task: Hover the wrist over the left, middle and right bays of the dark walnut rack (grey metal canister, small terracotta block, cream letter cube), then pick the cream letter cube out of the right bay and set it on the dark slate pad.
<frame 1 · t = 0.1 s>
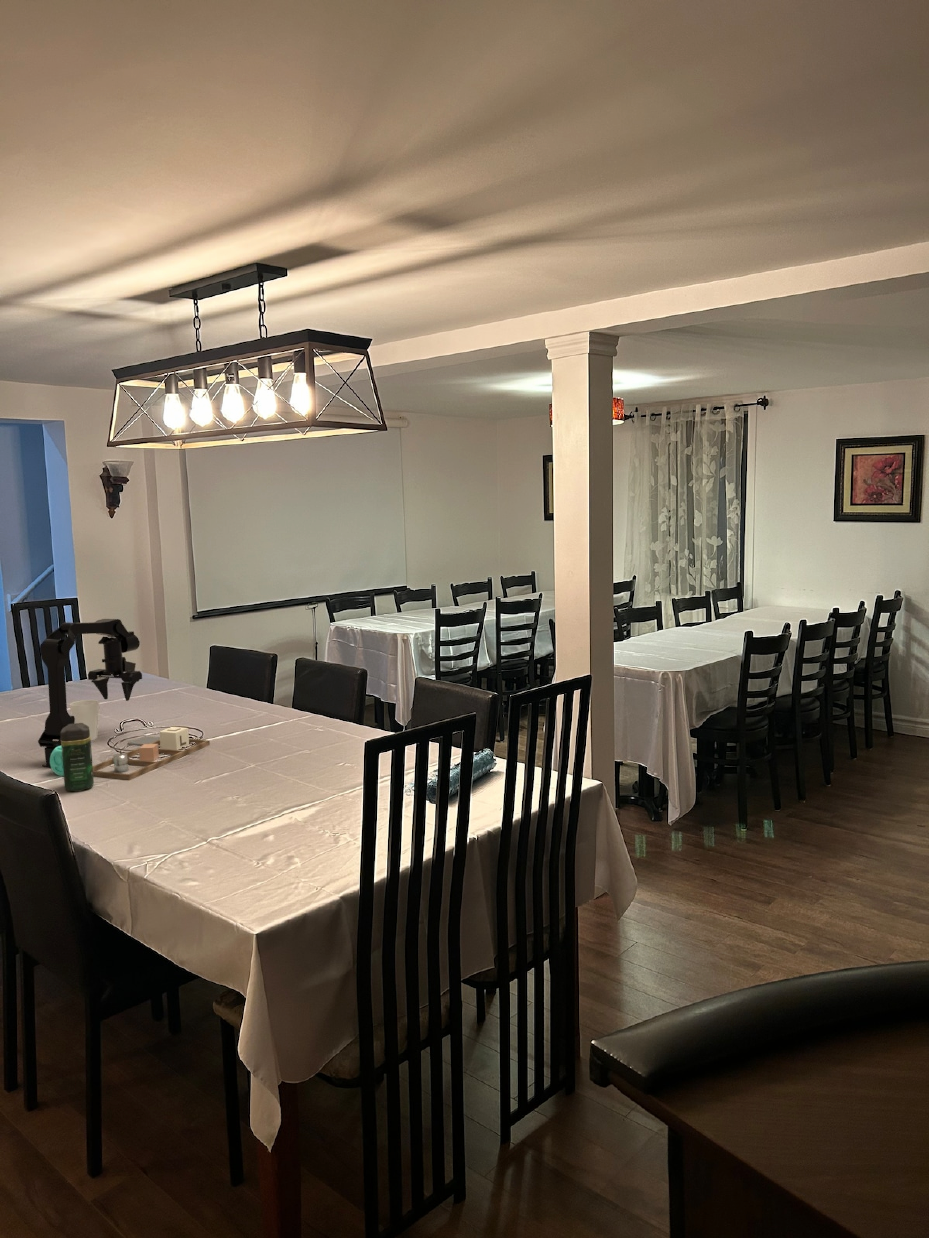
hand: (116, 699, 310), 15 cm above the table, fingers open, 9 cm apart
slate pad: (147, 741, 310), on the table
grey metal canister: (121, 771, 277), resting in walnut rack
walnut rack: (149, 759, 289), on the table
terracotta block: (149, 752, 289), in the walnut rack
foam cup: (87, 739, 316), on the table
coffee jar: (79, 787, 262), on the table
teal round container: (70, 772, 277), on the table
letter cube: (175, 748, 301), resting in walnut rack
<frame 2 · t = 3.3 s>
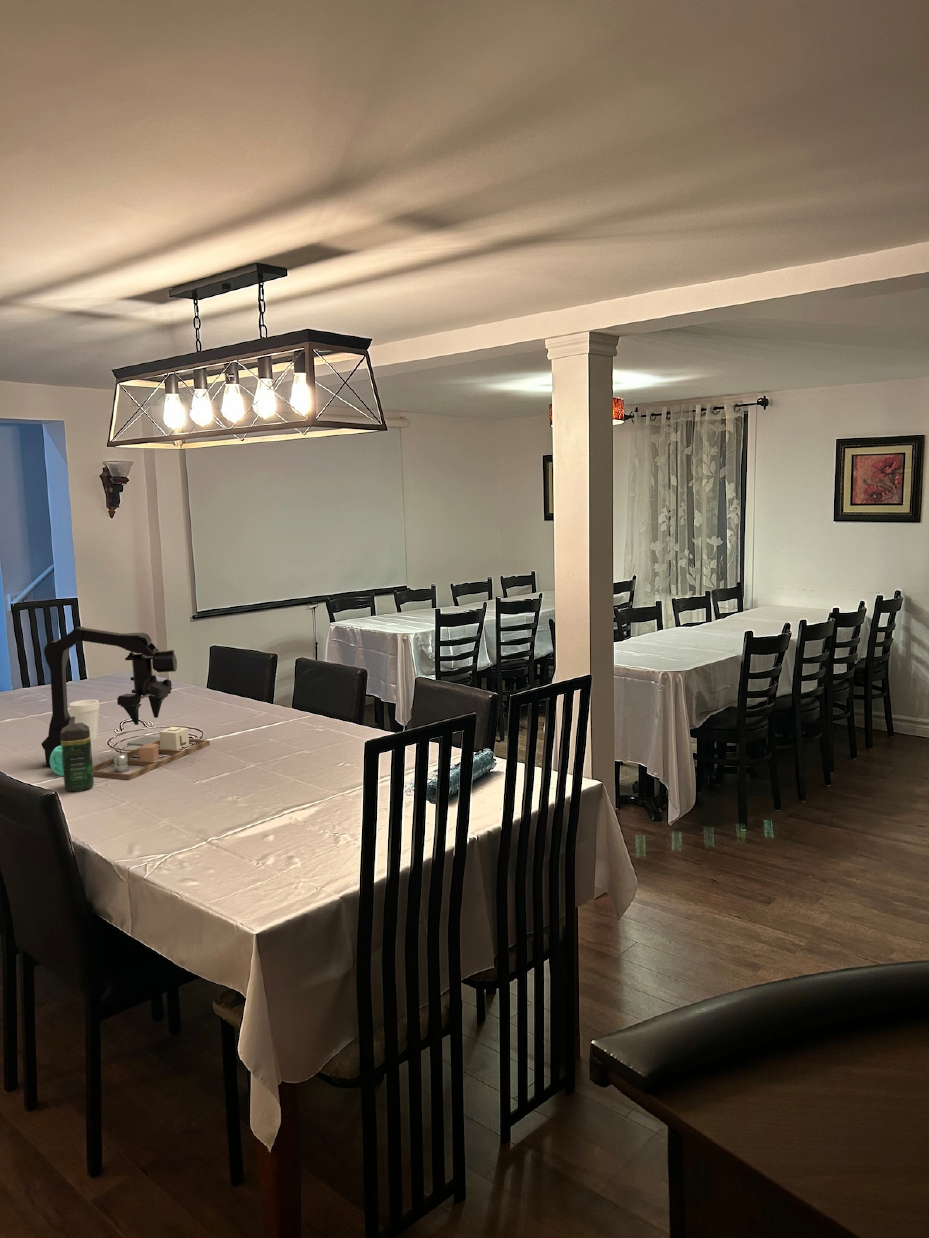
hand: (146, 721, 287), 13 cm above the table, fingers open, 9 cm apart
nothing on the table moved.
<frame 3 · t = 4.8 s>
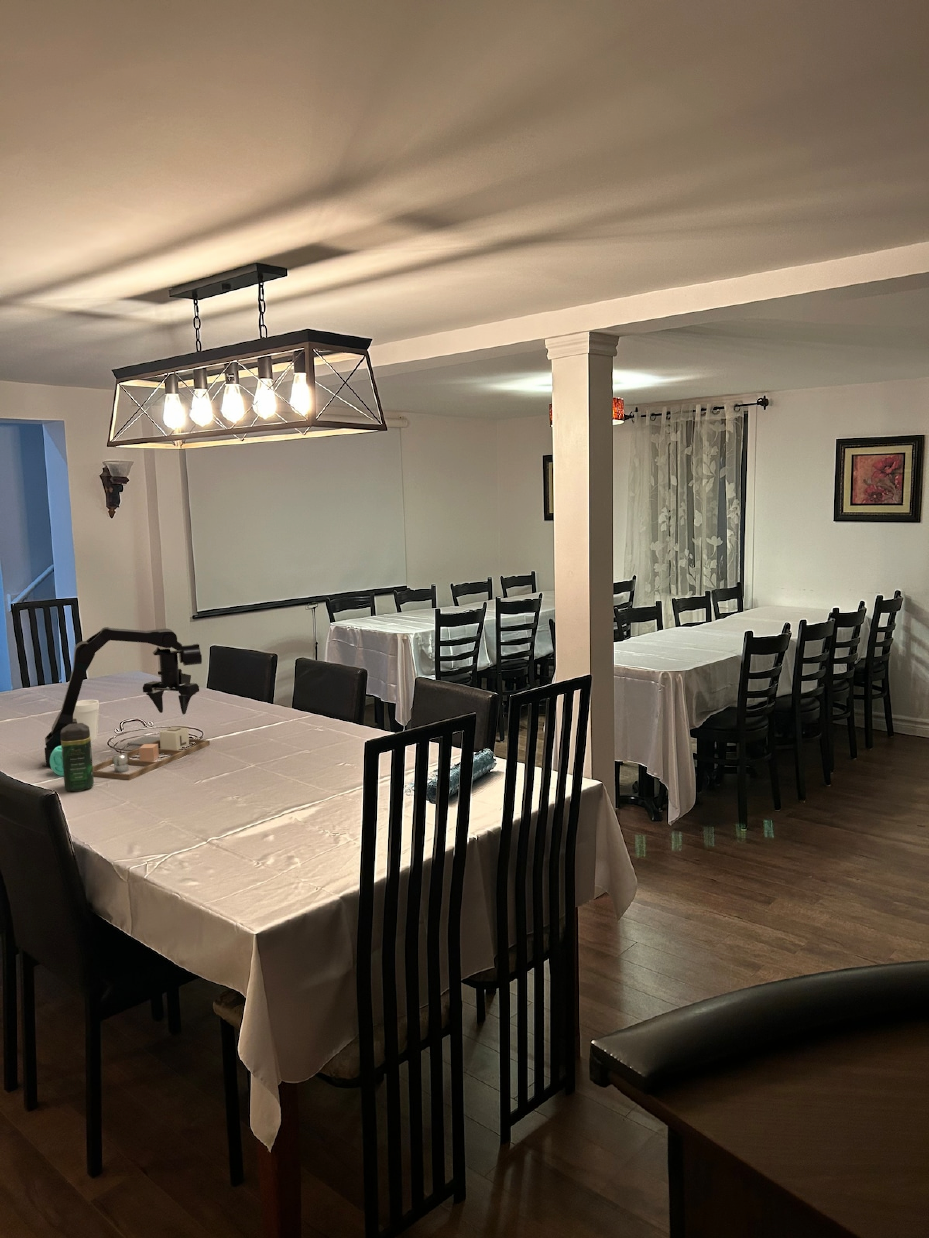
hand: (172, 713, 299), 12 cm above the table, fingers open, 9 cm apart
nothing on the table moved.
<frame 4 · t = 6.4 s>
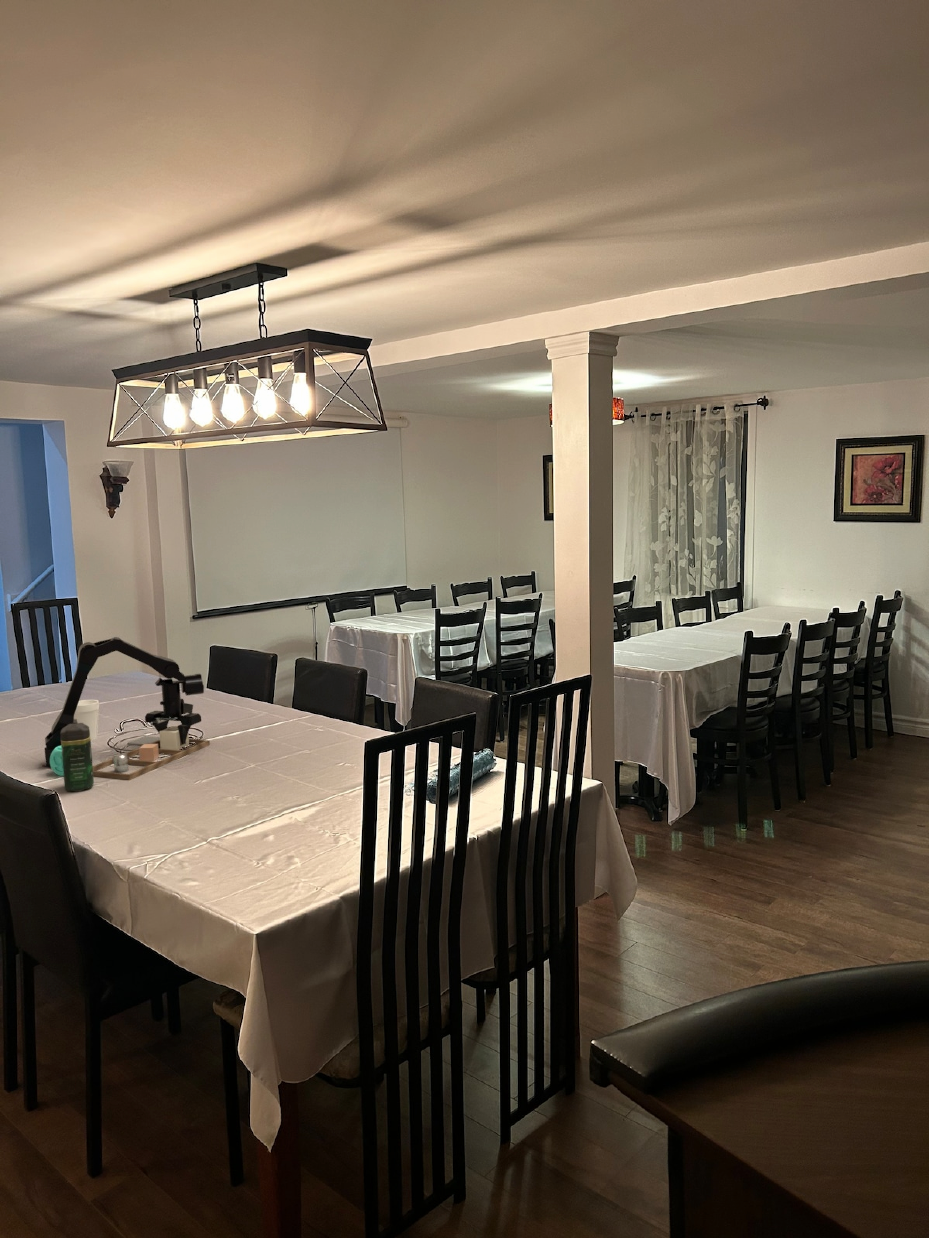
hand: (174, 743, 301), 2 cm above the table, fingers closed on letter cube, 7 cm apart
letter cube: (175, 748, 301), resting in walnut rack, touching gripper
everything else where it was.
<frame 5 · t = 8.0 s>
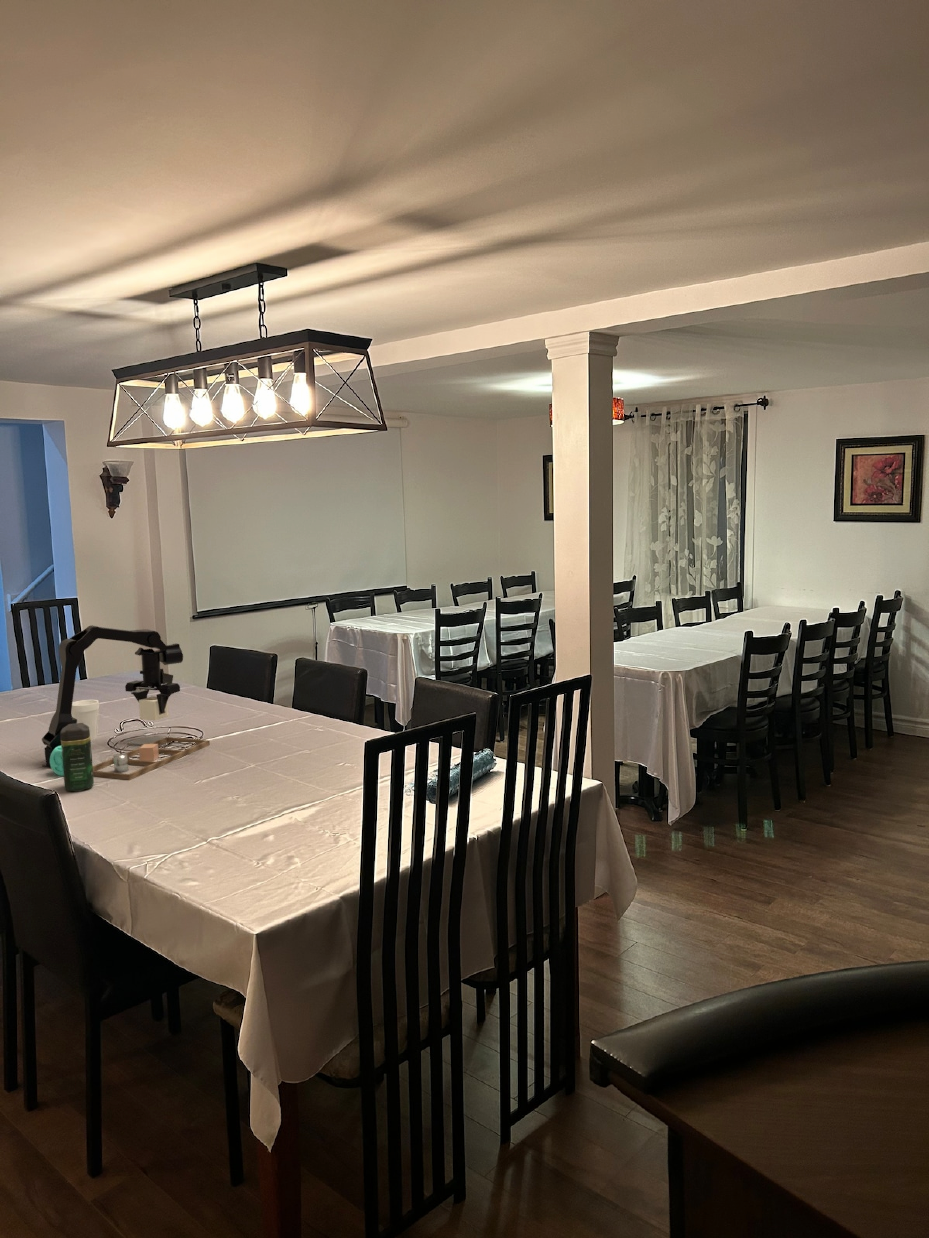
hand: (154, 712, 305), 11 cm above the table, fingers closed on letter cube, 7 cm apart
letter cube: (154, 717, 305), point 9 cm above the table, touching gripper
everything else where it was.
when the fingers open (3 cm above the table, at t = 10.1 s): letter cube drops 1 cm, resting on slate pad.
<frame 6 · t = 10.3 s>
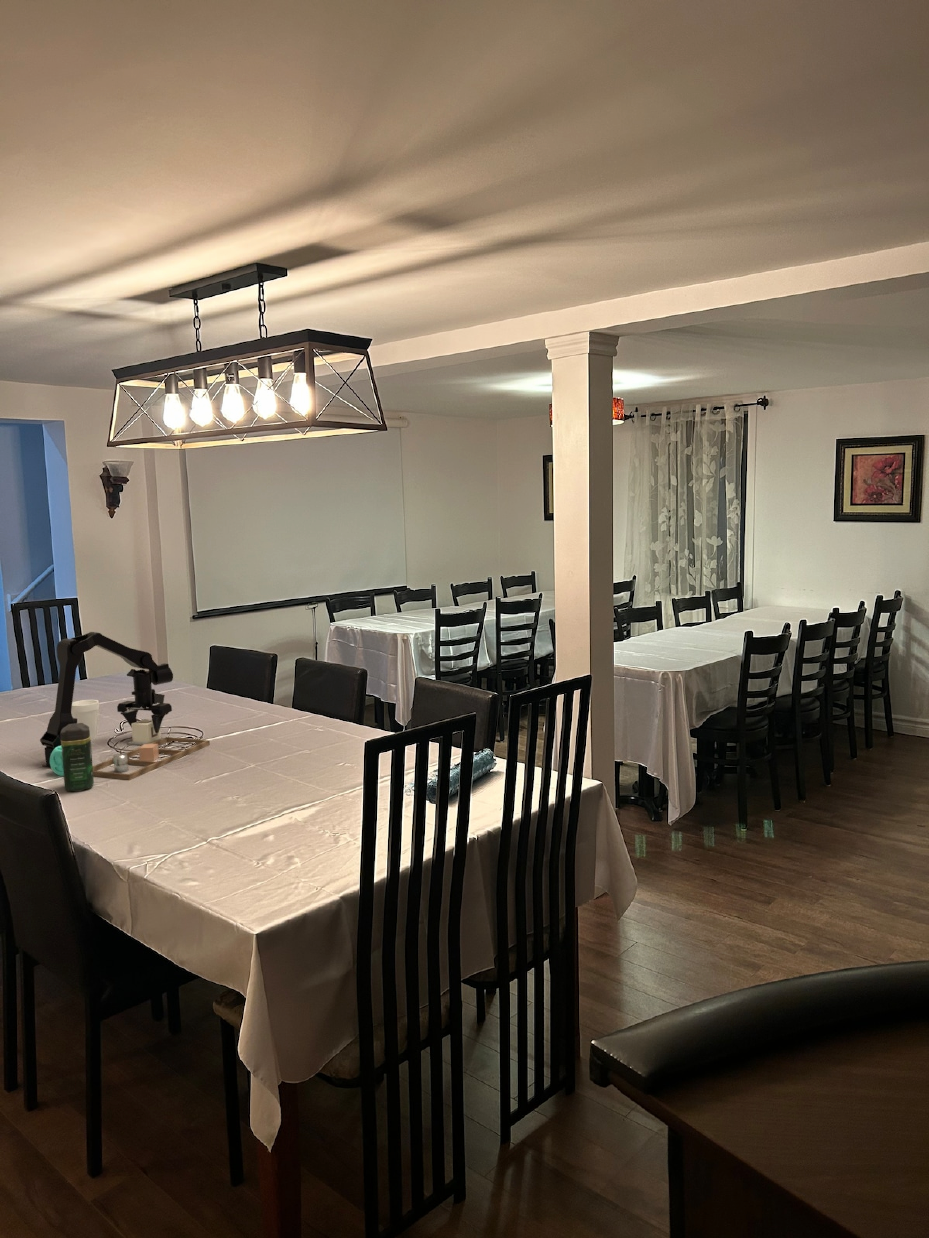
hand: (146, 732, 309), 3 cm above the table, fingers open, 9 cm apart
letter cube: (146, 740, 310), point 1 cm above the table, touching slate pad
everything else where it was.
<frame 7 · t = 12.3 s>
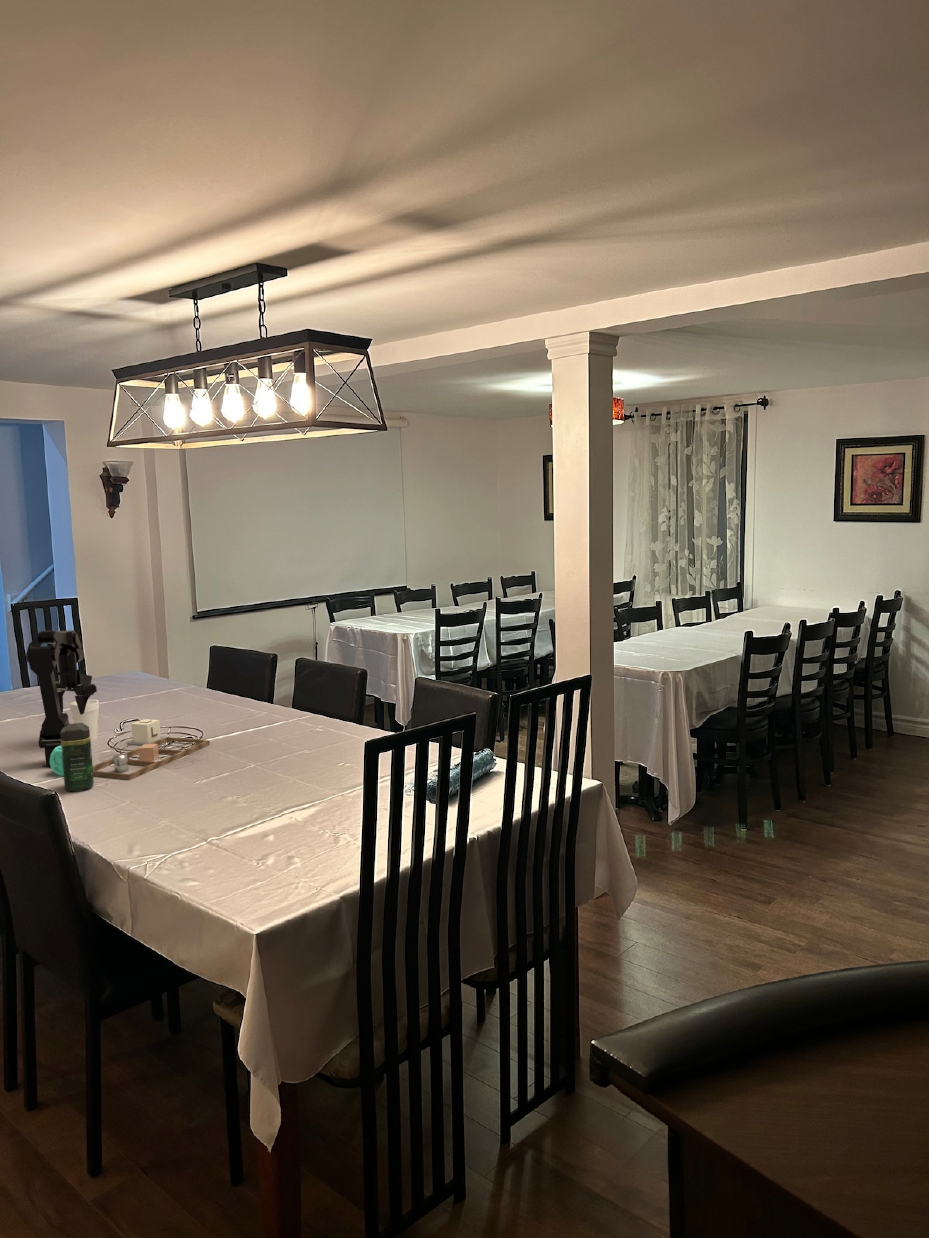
hand: (71, 713, 304), 12 cm above the table, fingers open, 9 cm apart
nothing on the table moved.
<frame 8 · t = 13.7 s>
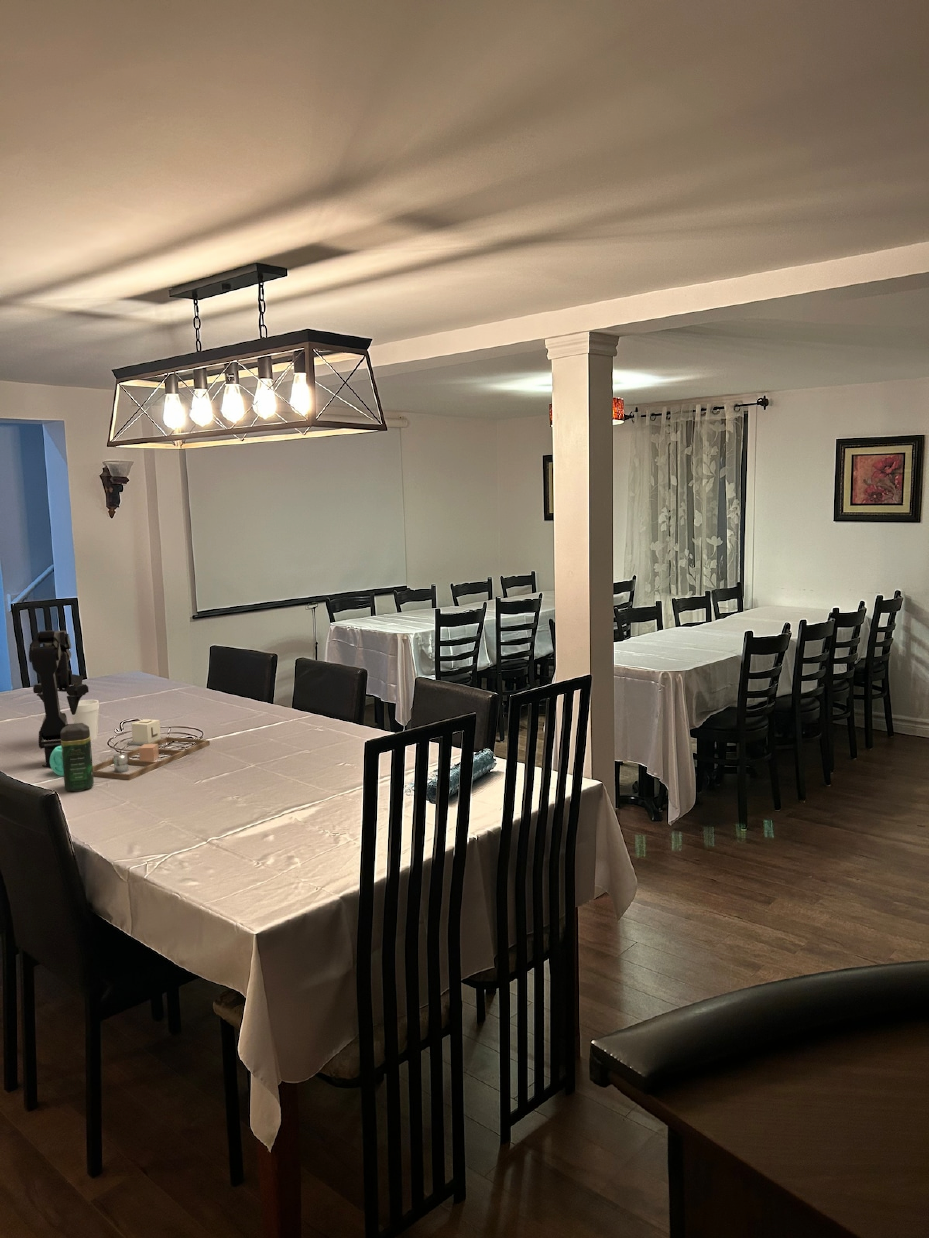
hand: (63, 713, 303), 12 cm above the table, fingers open, 9 cm apart
nothing on the table moved.
at the end: letter cube inside the target area (0.0 cm from its centre), point 0.6 cm above the table; letter cube tilted 0°; the gripper is holding nothing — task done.
